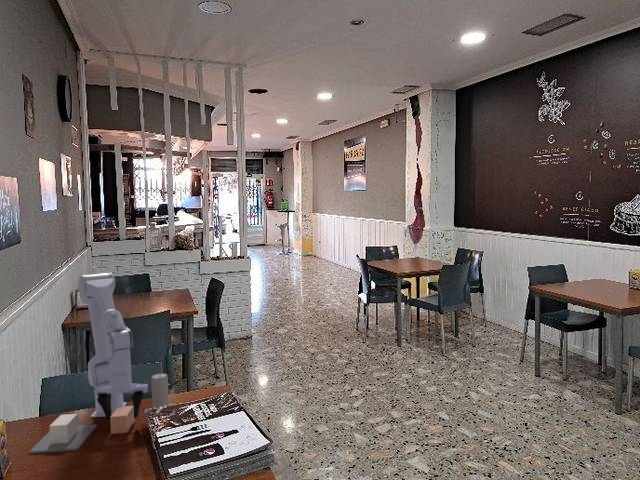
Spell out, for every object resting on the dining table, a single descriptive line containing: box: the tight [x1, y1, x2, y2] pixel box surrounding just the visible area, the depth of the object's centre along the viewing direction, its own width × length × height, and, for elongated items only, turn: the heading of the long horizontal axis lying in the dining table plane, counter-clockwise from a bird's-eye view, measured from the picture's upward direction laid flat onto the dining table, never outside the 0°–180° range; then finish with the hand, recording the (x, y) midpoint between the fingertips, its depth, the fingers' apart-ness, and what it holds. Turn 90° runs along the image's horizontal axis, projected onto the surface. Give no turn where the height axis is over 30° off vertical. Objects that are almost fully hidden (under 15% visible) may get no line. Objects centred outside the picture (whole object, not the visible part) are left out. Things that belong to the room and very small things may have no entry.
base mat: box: [28, 423, 98, 455], centre depth 129 cm, size 14×12×1 cm
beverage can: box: [150, 372, 170, 409], centre depth 144 cm, size 5×5×12 cm
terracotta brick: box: [109, 405, 135, 434], centre depth 135 cm, size 7×4×5 cm, turn 6°
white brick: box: [49, 413, 79, 444], centre depth 128 cm, size 7×4×5 cm, turn 6°
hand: (122, 417), depth 135 cm, fingers open, 7 cm apart
